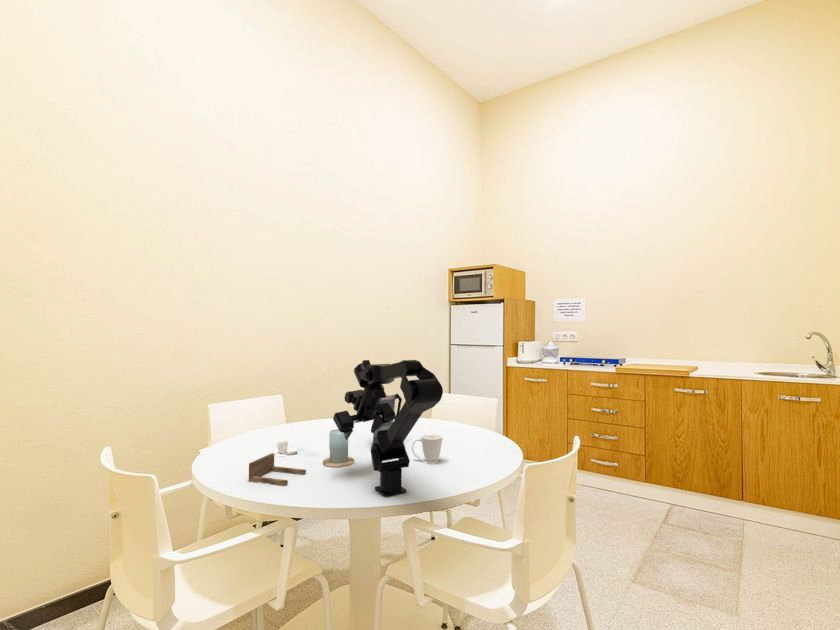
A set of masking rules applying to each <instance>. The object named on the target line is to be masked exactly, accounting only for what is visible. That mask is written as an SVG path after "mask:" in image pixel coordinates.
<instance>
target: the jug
mask: <svg viewBox="0 0 840 630" xmlns="http://www.w3.org/2000/svg"><path fill="white" fill-rule="evenodd" d="M328 433H329V440H328V441H329V443H328V444H329V449H328V450H329V458H330V463H333V464H341V463H346V462H347V461H348V457H349V438H348V439H347V440H346V439H345V437H344V433H343V432H340V431H339V429H338V428H337V429H331V430H330V431H329V432H328Z"/></svg>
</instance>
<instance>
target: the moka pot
mask: <svg viewBox="0 0 840 630" xmlns="http://www.w3.org/2000/svg"><path fill="white" fill-rule="evenodd" d="M396 399H398V402H397V411H396V413H395V418H396V417H397V415H398V413H399V412H400V410H401V408H402V407H401V406H402V401H403V399H402V397H401V395H400V394H399V393H396V394H391V395H388V394H386V398H381V401H380V403H385V402H388V403H389V404H390V405H391V407H392V408H393V410H394V411H395V408H396V407H395V406H396V404H395V403H396ZM395 418H394V420H395ZM394 420H392V421H390V422H389V423H387V424H385V425H384V426H382V427H381V428H379V429H378V430H377V431H375V432H374V433H372V435H373V436H372V443H373V442H374V438H375V437H376V435H377V432H378V431H381V430H388V429H389V428H390V426H391V425H392V423H393V422H394Z"/></svg>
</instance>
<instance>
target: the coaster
mask: <svg viewBox="0 0 840 630" xmlns="http://www.w3.org/2000/svg"><path fill="white" fill-rule="evenodd" d="M354 463H355V459H354V458H353V457H351V456H348V461H347V462H346V463H341V464H333V463H330V457H326V458H325V459H324V460H322V465H323V466H325V467H328V468H346V467H350V466H352V465H353V464H354Z"/></svg>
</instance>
